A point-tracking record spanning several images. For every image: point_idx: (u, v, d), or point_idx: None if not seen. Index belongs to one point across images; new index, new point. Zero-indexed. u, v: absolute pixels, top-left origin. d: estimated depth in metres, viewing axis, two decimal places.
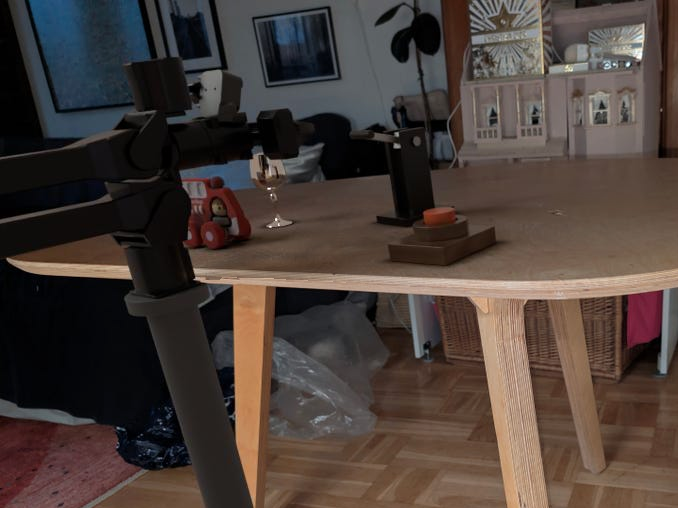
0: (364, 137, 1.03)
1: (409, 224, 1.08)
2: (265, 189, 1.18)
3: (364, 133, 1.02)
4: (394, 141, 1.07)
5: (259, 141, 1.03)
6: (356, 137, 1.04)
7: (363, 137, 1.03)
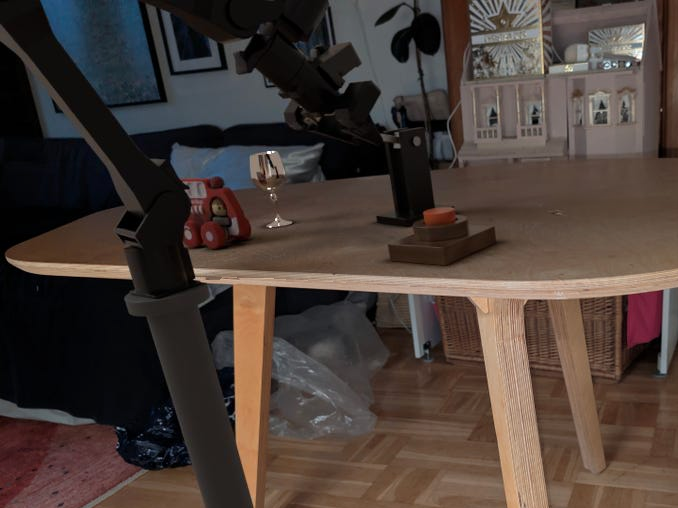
0: None
1: (409, 224, 1.08)
2: (265, 189, 1.18)
3: None
4: (394, 141, 1.07)
5: (345, 139, 1.05)
6: (356, 137, 1.04)
7: None
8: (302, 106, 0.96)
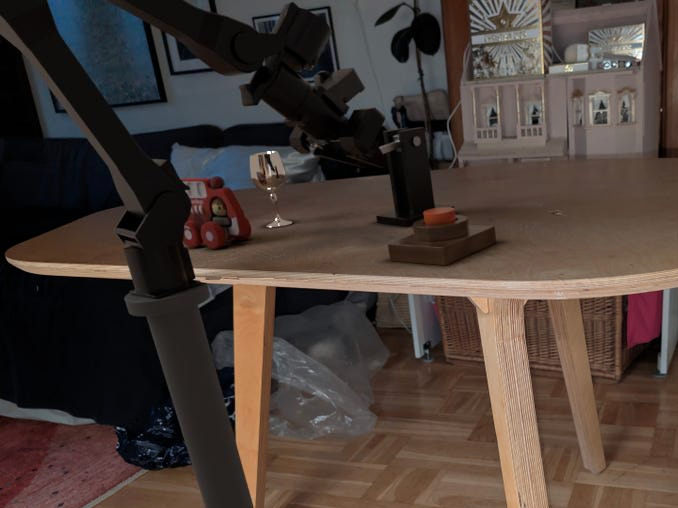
0: None
1: (409, 224, 1.08)
2: (265, 189, 1.18)
3: None
4: (395, 148, 1.08)
5: (350, 162, 1.06)
6: None
7: None
8: (308, 133, 0.98)
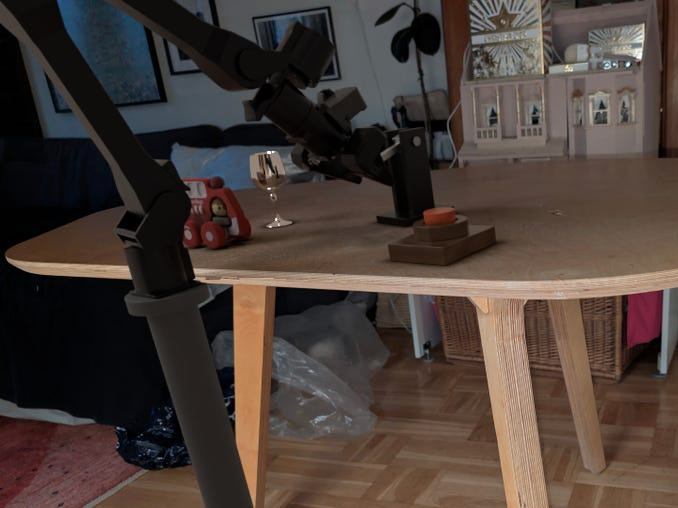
0: None
1: (409, 224, 1.08)
2: (265, 189, 1.18)
3: None
4: (397, 150, 1.08)
5: (345, 178, 1.08)
6: None
7: None
8: (309, 150, 0.98)
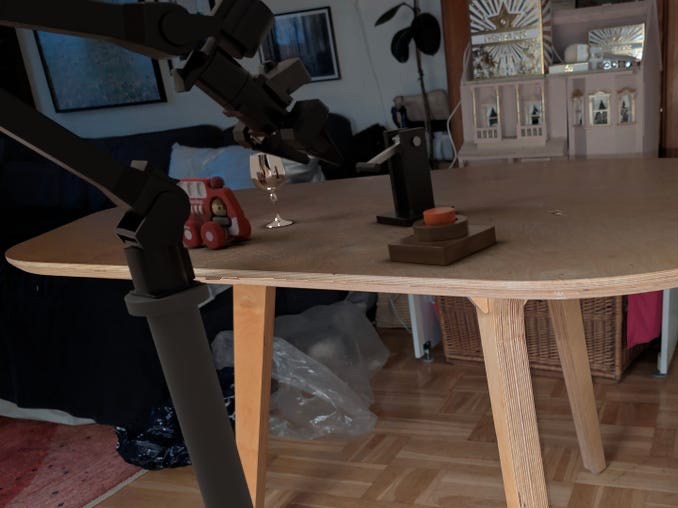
0: None
1: (409, 224, 1.08)
2: (265, 189, 1.18)
3: (371, 168, 1.04)
4: (397, 150, 1.08)
5: (291, 158, 1.02)
6: (364, 170, 1.06)
7: None
8: (248, 125, 0.92)
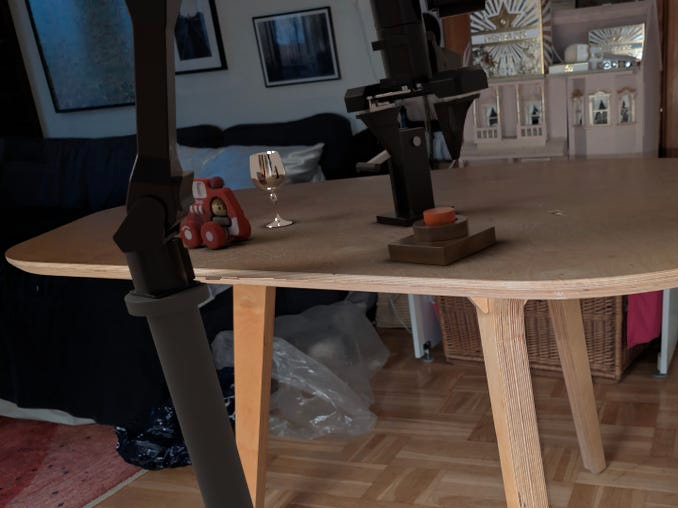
0: None
1: (409, 224, 1.08)
2: (265, 189, 1.18)
3: (371, 168, 1.04)
4: None
5: (390, 146, 0.89)
6: (364, 170, 1.06)
7: None
8: (392, 64, 0.81)
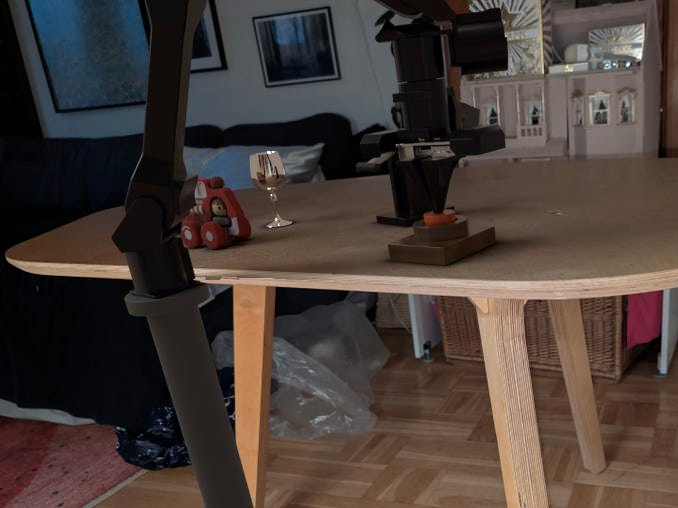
0: None
1: (409, 224, 1.08)
2: (265, 189, 1.18)
3: (371, 168, 1.04)
4: None
5: (429, 194, 0.87)
6: (364, 170, 1.06)
7: None
8: (412, 117, 0.82)
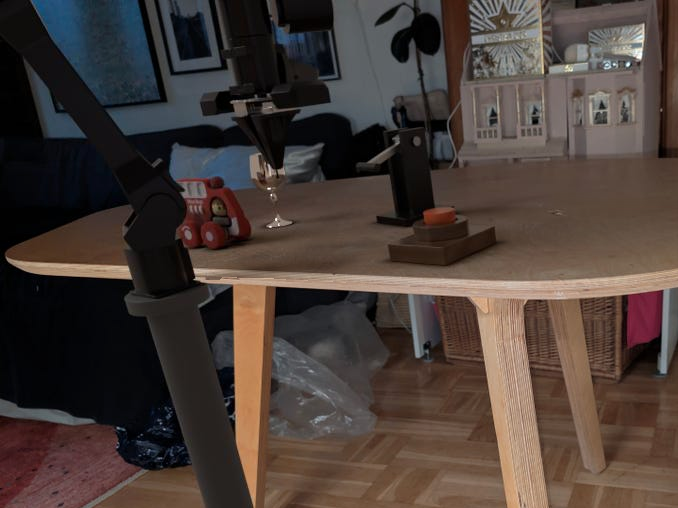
0: None
1: (409, 224, 1.08)
2: (265, 189, 1.18)
3: (371, 168, 1.04)
4: (397, 150, 1.08)
5: (265, 150, 0.89)
6: (364, 170, 1.06)
7: None
8: (239, 72, 0.84)
